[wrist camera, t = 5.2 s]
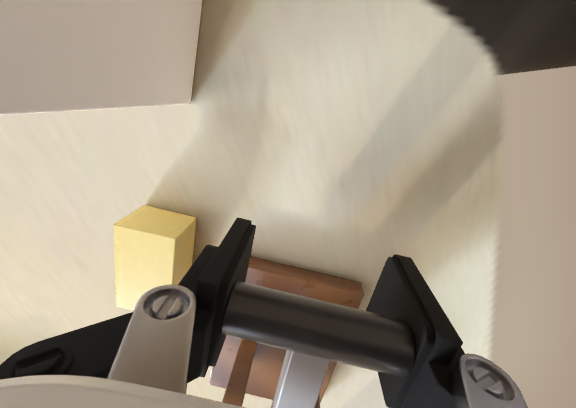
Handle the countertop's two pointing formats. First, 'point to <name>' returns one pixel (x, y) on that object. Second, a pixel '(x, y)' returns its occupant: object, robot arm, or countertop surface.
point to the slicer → (267, 359)
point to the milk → (96, 54)
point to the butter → (151, 252)
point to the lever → (315, 338)
